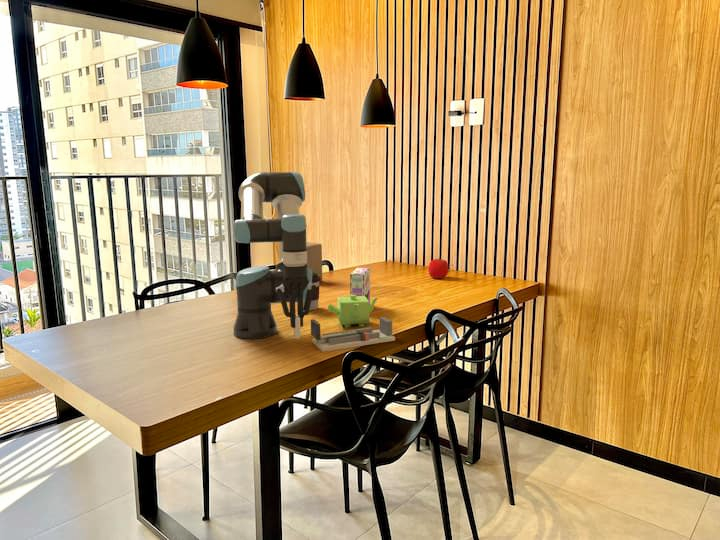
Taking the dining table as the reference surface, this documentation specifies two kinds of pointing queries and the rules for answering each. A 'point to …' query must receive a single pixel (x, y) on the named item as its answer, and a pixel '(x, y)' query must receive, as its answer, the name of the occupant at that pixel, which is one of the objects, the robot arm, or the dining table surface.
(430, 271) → the tomato
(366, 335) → the small salmon eraser
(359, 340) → the base
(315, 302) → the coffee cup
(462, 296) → the dining table surface
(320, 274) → the wooden block
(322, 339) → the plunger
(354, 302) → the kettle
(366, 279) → the candy box
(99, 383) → the dining table surface
